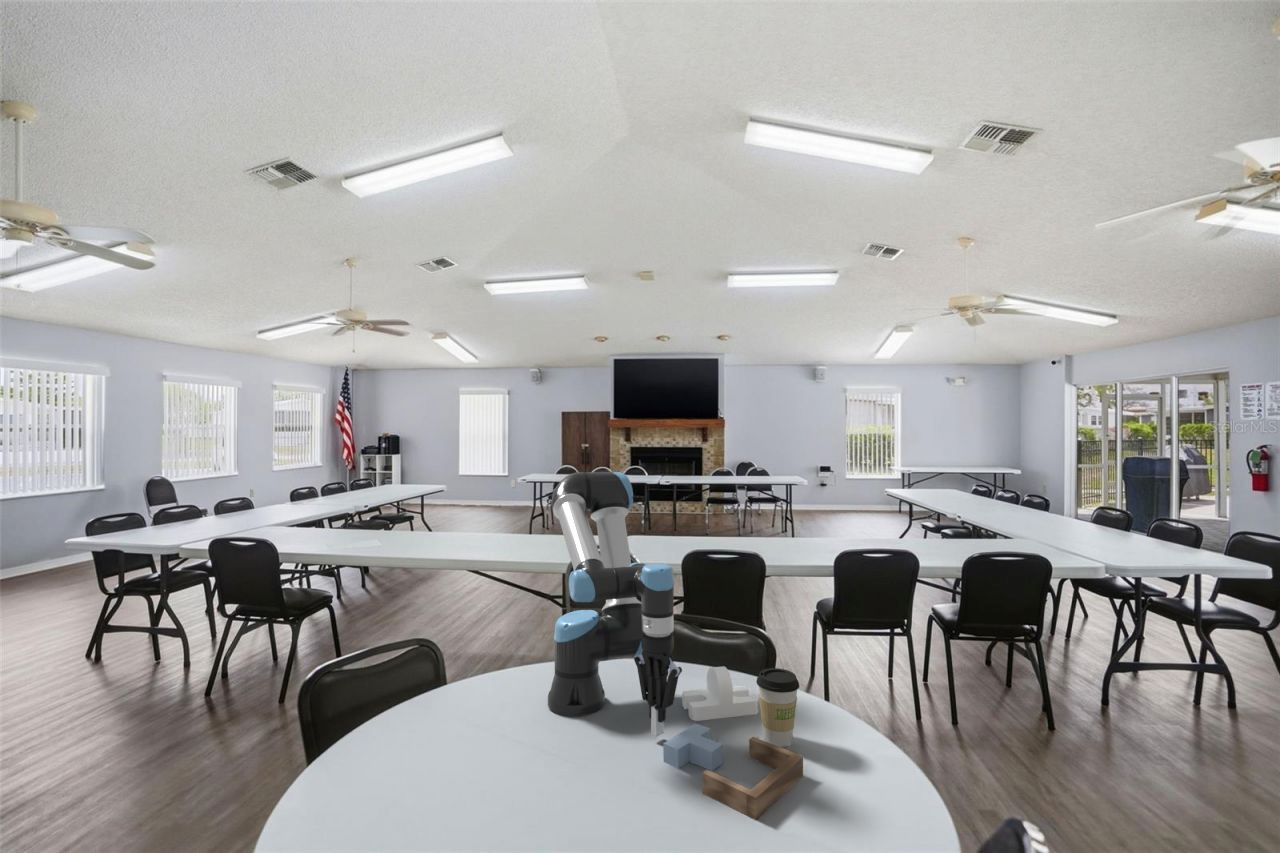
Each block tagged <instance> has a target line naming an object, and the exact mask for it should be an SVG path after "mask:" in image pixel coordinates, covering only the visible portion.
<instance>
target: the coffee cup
mask: <svg viewBox="0 0 1280 853" xmlns="http://www.w3.org/2000/svg"><path fill="white" fill-rule="evenodd" d="M758 673H759V674H758V676H757V677H756V681H755V682H756V685H757V686H758V692H759V693H758V702H759V707H760V715H761V716H760V717H761V725H762V728H763V739H764V741H765V742H768V743H770V744H773V745H776V746H778V747H781V748H785V747H789V746H791V744H792V742H793V741H792V740H793V730H794V727H795V720H796V711H797V710H796V709H797V701H798V697H797V696H798V694H797V693H798V689H800V682H799V680H798V678H797V675H796V674H795V673H794V672H792V671H791V670H788V669H784V668H779V667H777V668H776V667H770V668H764V669H762V670H760V671H759V672H758Z"/></svg>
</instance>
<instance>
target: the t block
mask: <svg viewBox="0 0 1280 853" xmlns="http://www.w3.org/2000/svg"><path fill="white" fill-rule="evenodd" d="M662 749H663V750H662V751H663V755H662V756H663V763H665V764H668V765H669V766H670V767H673V768H675V769H678V770H679V769H680V768H682V767H683V766H685V765H686V764H687V763H689V762H691V763H692V764H695V765H697V766H700V767H702V768H704V769H706V770H709V771H711V772H713V771H715V770H716V769H717V768H718V767H720V766H721V765H723V764H724V761H723V758H724V757H723V755H724V754H723V752H724V751H723V750H724V749H723V744H722V743H720V742H717V741H715V740H712V739H711V728H708V727H706V726H704V725H701V724H698V723H694V724H693V725H691V726H690V727H688V728H685V730H683V731H682V732H679V733H678V734H676V735H675V736H673V737H672V738H669V739H668V740H666V741H664V742H663V747H662Z"/></svg>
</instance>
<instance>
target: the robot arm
mask: <svg viewBox="0 0 1280 853" xmlns="http://www.w3.org/2000/svg"><path fill="white" fill-rule="evenodd" d="M633 497H634V492H633V486H632V483H631V480H630V478H629V477H628V476H627V475H626V474H625V473H623V472H619V471H612V470H610V471H595V472H594V471H593V472H592V471H590V472H587V471H586V472H582V471H579V472H578V471H577V472H574V473H571V474H568V475H566V476H565V477H564V478H562V479H561V480H560V481H559V483H557V485H556V487H555V488H554V489H553V492H552V495H551V510H552V512H553V515H554V517H555V518H556V519H558V520H559V524H560V527H561V531H562V533H563V537H564V542H565V545H566V548H567V551H568V556H569V558H570V561H571V562H570V563H571V565H572V568H573V571H571V572H570V574H569V576H568V589H569V595H570V598H571V600H572V601H574V602H575V603H591V602H597V601H599V602H601V601H605V604H604V605H603V607H602V609H601V615H599V612H597V611H595V610H594V609H593V610H592V609H580V610H579V609H577V610H574V611H573V610H572V611H571V612H568V613H565V614H563V615H562V616H560V617H558V619H557V620H556V622H555V625H554V626H555V627H554V635H553V639H554V676H553V679H552V683H551V686H550V690H549V692H548V694H547V708H548V709H549V710H550V711H551V712H553V713H555V714H557V715H561V716H567V717H568V716H569V717H581V716H586V715H591V714H594V713H596V712H597V711H599V710H601V709H603V707H604V706H605V704H606V692H605V690H604V688H603V684H602V680H601V676H600V674H599V663H600V662H606V661H607V662H608V661H614V660H623V659H629V658H630V659H633V660H634V664H635V666H636V668H637V673H638V680H639V686H640V691H641V692H640V693H641V698H642V700H643V701H646V702H647V705H648V707H649V708H648V711H649V712H648V713H649V714H648V716H649V719H650V722H651V723H650V727H651V728H650V735H651V736H652V737H655V738H658V737H659V736H661V735H663V734H664V732H665V731H664V730H665V728H664V722H665V721H666V720H667V718H666V716H667V715H666V713H667V709H668V708H669V707H671V706H673V704H674V701H675V700H674V699H675V697H676V696H675V695H676V691H677V685H678V680H679V676H680V675H681V673H682V672H683V669H682V667H681V666H678V667H677V665H676V664H675V663H674V657H673V654H672V653H673V650H674V640H675V639H674V633H673V632H674V628H675V627H674V626H675V625H674V621H675V620H674V599H675V598H674V592H675V591H674V588H675V586H674V585H675V578H674V569H673V567H672V566H671V565H668V564H665V563H664V564H663V563H649V564H645V563H642V562H632V560H631V553H630V546H629V540H628V531H627V526H626V517H627V516H628V515H629V512H630V509H631V508H632V507H633V503H634V498H633ZM586 512H589V514H590V518H591V520H593V521H594V522H595V523H596V530H597V531H596V532H597V536H598V537H597V538H598V544H599V545H598V546H599V547H598V546H597V542H596V539H595V537H594V534H593V530H592V528H591V525H590V522H589V519H588V517H587V516H588V515H587V514H586ZM637 598H640V599H641V600H639V599H637Z"/></svg>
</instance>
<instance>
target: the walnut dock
mask: <svg viewBox="0 0 1280 853" xmlns="http://www.w3.org/2000/svg"><path fill="white" fill-rule="evenodd" d="M748 746H749V750H748V752H749V753H748V754H749V758H750V759H751V760H755V761H757V762H759V763H761V764H763V765H766V766H768V767H770V768H773V770H772V771H771V772H770V773H768V775H766V776H765V777H764V778H763V779H761V781H759V782H758V783H757V784H756V785H755V786H753V787H752V788H751V789H750V788H747V787H745V786H743V785H741V784H738V783H737V782H734V781H733V780H731V779H729V778H726V777H725V776H722V775H720V774H719V773H718V774H717V773H716V772H713V771H710V770H708V769H706V770H705V771H704V772H702V794H703V795H705V796H708V797H709V798H712V799H713V800H715V801H718V802H719V803H722V804H723V805H725V806H727V807H730V808H732V809H733V810H736V811H737V812H739V813H741V814H743V815H745V816H746V817H749V818H751V819H753V820H755V821H756V820H757V819H759V818H760V817H761V816H762V815H763V814H764V813H765V812H766V811H767V810H768V809H769V808H771V807H772V806H773V805H774V804H775V803H776V802H777V801H778V800H779V799H781V797H782V796H783V795H784V794H785V793H787V792H788V790H790V789H791V788H792V787H793V786H794V785H795V784H796V783H797V782H798V781H799V780H801V778H802V777H803V776H804V756H803V755H802V754H798V753H796V752H793V751H790V750H788V749H785V748H784V747H778V746H776V745H773V744H770V743H768V742H766V741H765V740H763V739H760V738H757V737H755V736H752V737H750V738H749V739H748Z"/></svg>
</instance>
